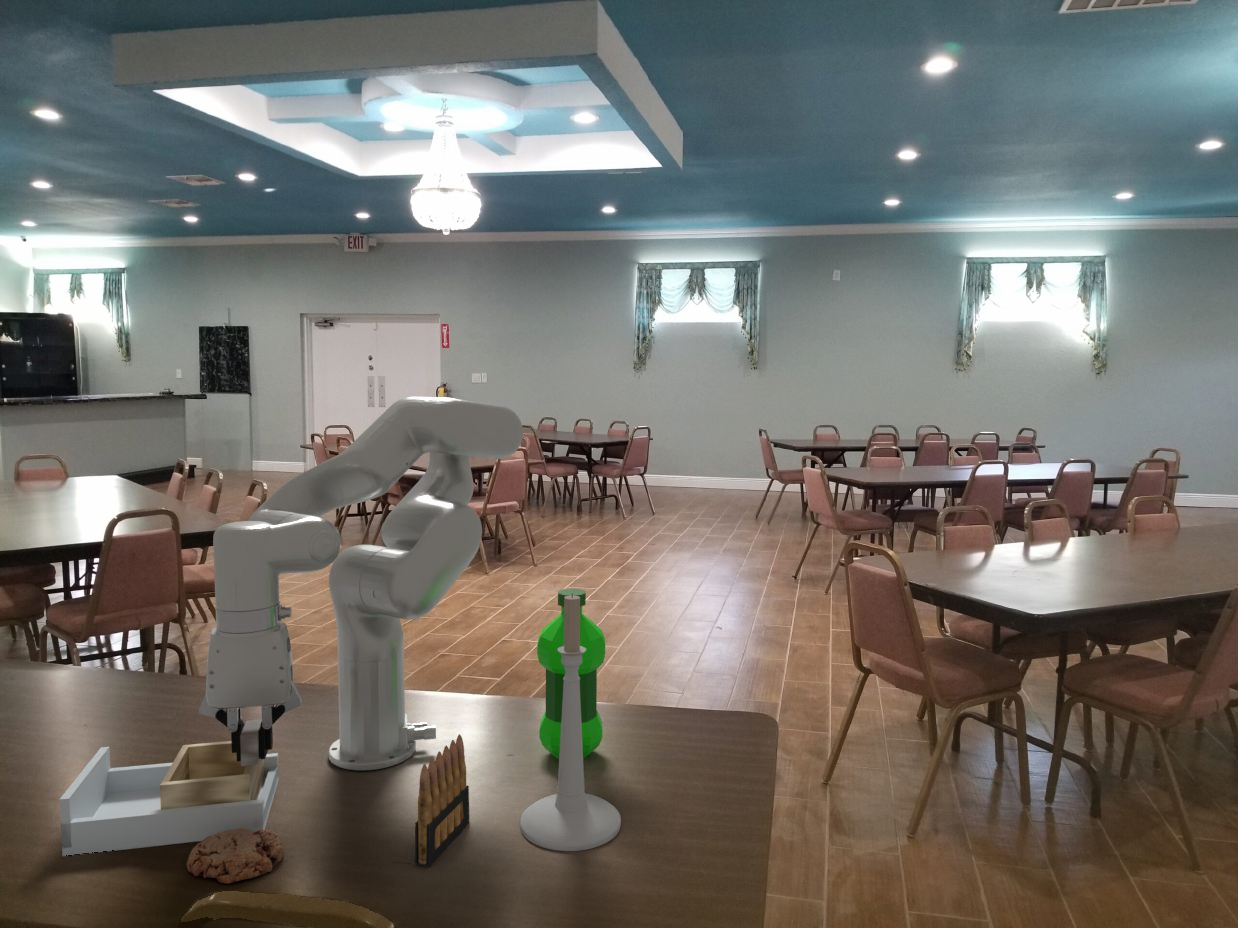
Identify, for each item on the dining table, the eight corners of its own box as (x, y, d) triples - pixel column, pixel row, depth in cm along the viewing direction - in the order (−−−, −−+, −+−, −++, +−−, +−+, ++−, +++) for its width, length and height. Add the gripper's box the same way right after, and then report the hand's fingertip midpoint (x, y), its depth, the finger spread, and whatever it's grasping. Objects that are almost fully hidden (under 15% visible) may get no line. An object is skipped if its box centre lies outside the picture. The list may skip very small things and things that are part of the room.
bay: (278, 780, 120) (277, 732, 120) (263, 833, 106) (261, 779, 106) (103, 797, 115) (101, 747, 114) (62, 856, 101) (59, 799, 100)
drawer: (268, 778, 119) (266, 709, 118) (255, 820, 107) (252, 745, 106) (184, 786, 116) (182, 716, 115) (161, 830, 105) (158, 753, 104)
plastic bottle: (550, 736, 136) (550, 581, 134) (613, 744, 133) (615, 586, 131) (525, 763, 127) (525, 597, 124) (594, 773, 124) (595, 603, 121)
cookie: (197, 846, 104) (196, 822, 104) (290, 836, 106) (290, 813, 106) (175, 894, 94) (174, 868, 94) (278, 882, 97) (277, 857, 96)
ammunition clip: (456, 820, 110) (456, 730, 109) (469, 822, 110) (469, 732, 108) (414, 865, 100) (413, 766, 99) (428, 868, 99) (427, 768, 98)
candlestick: (622, 800, 116) (624, 582, 113) (619, 852, 103) (622, 607, 100) (527, 798, 116) (527, 580, 113) (513, 849, 104) (513, 605, 101)
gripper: (316, 607, 116) (319, 738, 118) (187, 613, 112) (192, 749, 114) (311, 622, 109) (314, 762, 111) (172, 630, 105) (178, 775, 107)
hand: (252, 754), depth 112 cm, fingers closed on drawer, 2 cm apart
